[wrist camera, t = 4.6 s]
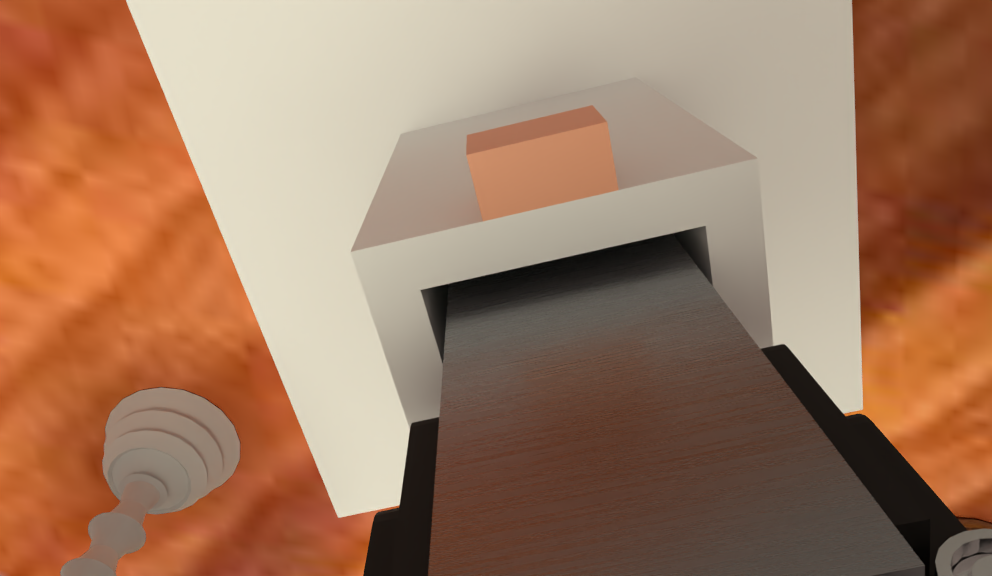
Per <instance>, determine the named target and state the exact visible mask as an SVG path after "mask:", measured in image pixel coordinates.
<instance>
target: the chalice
mask: <svg viewBox="0 0 992 576" xmlns="http://www.w3.org/2000/svg"><path fill="white" fill-rule="evenodd" d="M105 433H106V440H105V443H104V457H103V460H102V464H103V474H104V476H105V478H106V481H107V483H108V485H109V487H110V489H111V490H112V492H113V494H114V495H115V496H116V497H117V498H118V499H119V500H120V503H119V505H118V506H117V507H115V508H114V509H113V510H112V511H111V512H108V513H102V514H100V515H97V516H95V517H94V518H93V519H92V520H91V521H90V523H89V526H88V532H89V535H90V537H91V539H92V541H91V545H90V548H89V550H88V551H87V552H85V553H84V554H83V555H82V556H81V557H79V558H76V559H73V560H71V561H68V562H67V563H66V564H65V565H63V566H62V569H61V572H60V574H61V576H116V573H115V572H116V567H117V562H118V560H119V559H120V558H121V557H122V556H123V555H124V554H127V553H132V552H135V551H137V550H139V549H140V548H141V547H142V546H143V545H144V543H145V541H146V533H145V531H144V529H143V527H142V524H143V521H144V517H145V514H146V513H148V514H163V513H170V512H175V511H180V510H183V509H185V508H187V507H189V506H191V505H193V504H194V503H195V502H196V501H197V500H198V499H200V498H202V497H204V496H206V495H207V494H208V493H209V492H210V491H211V490H213V489H215V488H217V487H219V486H221V485H222V484H223V483H224V482H225V481H226V480H227V479H229V478H230V477H231V476H232V475H233V473H234V471H235V469H236V467H237V464H238V462H239V460H240V441H239V438H238V436H237V433H236V430H235V428H234V425H233V424H232V423H231V422H230V420H229V419H228V418H227V417H226V415H225V414H224V413H223V412H222V410H220V409H219V408H217V407H216V406H215V405H213V404H212V403H210V402H209V401H208V400H206V399H205V398H203V397H200V396H198V395H195V394H192V393H190V392H187V391H184V390H179V389H170V388H162V387H160V388H154V389H147V390H141V391H138V392H136V393H134V394H132V395H130V396H128V397H126V398H124V399H122V400H121V402H120V403H119V404H118V405H117V406H116V407H115V408H114V409H113V410H112V411H111V413H110V416H109V418H108V421H107V424H106V427H105Z"/></svg>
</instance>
